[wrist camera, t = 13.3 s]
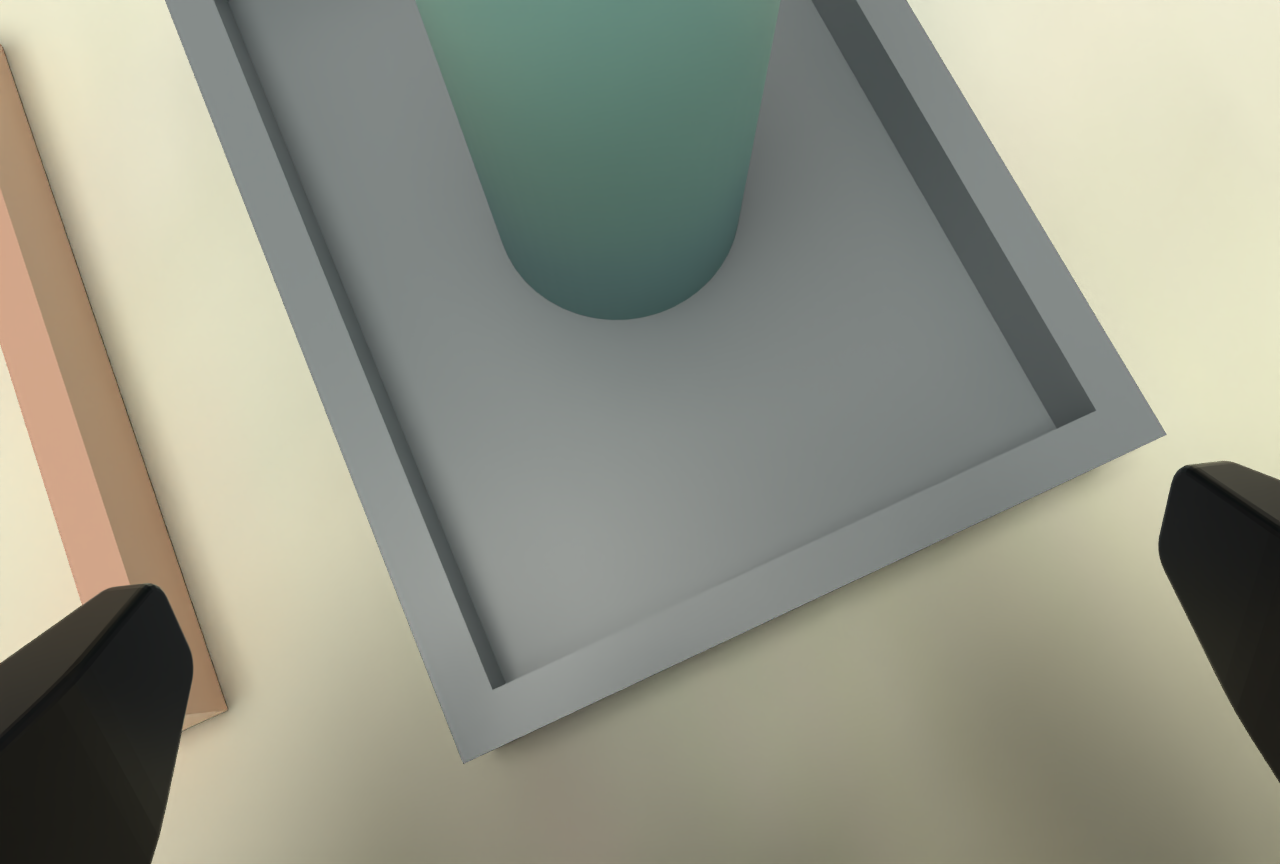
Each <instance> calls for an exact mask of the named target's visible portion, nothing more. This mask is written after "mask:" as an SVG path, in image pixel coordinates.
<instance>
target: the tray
mask: <svg viewBox="0 0 1280 864" xmlns="http://www.w3.org/2000/svg"><path fill="white" fill-rule="evenodd" d="M165 1H166V4H167V7H168V9H169V12H170V14H171V17H172V19H173V22H174V24H175V27H176V30H177V32H178V35H179V37H180V40H181V42H182V45H183V47H184V50H185V53H186V55H187V58H188V60H189V63H190V65H191V68H192V71H193V73H194V76H195V78H196V81H197V83H198V86H199V88H200V91H201V94H202V96H203V99H204V101H205V104H206V106H207V109H208V112H209V114H210V117H211V119H212V122H213V124H214V127H215V129H216V132H217V135H218V137H219V140H220V142H221V145H222V147H223V150H224V152H225V155H226V158H227V160H228V163H229V165H230V168H231V170H232V173H233V176H234V178H235V181H236V183H237V186H238V188H239V191H240V193H241V196H242V199H243V201H244V204H245V206H246V209H247V211H248V214H249V216H250V219H251V222H252V224H253V227H254V229H255V232H256V234H257V237H258V240H259V242H260V245H261V247H262V250H263V252H264V255H265V257H266V260H267V263H268V265H269V268H270V270H271V273H272V275H273V278H274V281H275V283H276V286H277V288H278V291H279V293H280V296H281V298H282V301H283V304H284V306H285V309H286V311H287V314H288V316H289V319H290V321H291V324H292V327H293V329H294V332H295V334H296V337H297V339H298V342H299V345H300V347H301V350H302V352H303V355H304V357H305V360H306V362H307V365H308V368H309V370H310V373H311V375H312V378H313V380H314V383H315V385H316V388H317V391H318V393H319V396H320V398H321V401H322V403H323V406H324V409H325V411H326V414H327V416H328V419H329V421H330V424H331V426H332V429H333V432H334V434H335V437H336V439H337V442H338V444H339V447H340V450H341V452H342V455H343V457H344V460H345V462H346V465H347V467H348V470H349V473H350V475H351V478H352V480H353V483H354V485H355V488H356V490H357V493H358V496H359V498H360V501H361V503H362V506H363V508H364V511H365V514H366V516H367V519H368V521H369V524H370V526H371V529H372V531H373V534H374V537H375V539H376V542H377V544H378V547H379V549H380V552H381V554H382V557H383V560H384V562H385V565H386V567H387V570H388V572H389V575H390V578H391V580H392V583H393V585H394V588H395V590H396V593H397V595H398V598H399V601H400V603H401V606H402V608H403V611H404V613H405V616H406V619H407V621H408V624H409V626H410V629H411V631H412V634H413V636H414V639H415V642H416V644H417V647H418V649H419V652H420V654H421V657H422V659H423V662H424V665H425V667H426V670H427V672H428V675H429V677H430V680H431V683H432V685H433V688H434V690H435V693H436V695H437V698H438V700H439V703H440V706H441V708H442V711H443V713H444V716H445V718H446V721H447V723H448V726H449V729H450V731H451V734H452V736H453V739H454V741H455V744H456V747H457V749H458V752H459V754H460V757H461V759H462V762H463V764H464V763H466V762H468V761H471V760H473V759H475V758H477V757H479V756H481V755H483V754H486V753H488V752H490V751H492V750H494V749H496V748H498V747H500V746H503V745H505V744H507V743H509V742H511V741H513V740H515V739H518V738H520V737H522V736H524V735H526V734H528V733H530V732H533V731H535V730H537V729H539V728H541V727H543V726H545V725H547V724H550V723H552V722H554V721H556V720H558V719H560V718H562V717H565V716H567V715H569V714H571V713H573V712H575V711H577V710H580V709H582V708H584V707H586V706H588V705H590V704H592V703H594V702H597V701H599V700H601V699H603V698H605V697H607V696H609V695H612V694H614V693H616V692H618V691H620V690H622V689H624V688H626V687H629V686H631V685H633V684H635V683H637V682H639V681H641V680H644V679H646V678H648V677H650V676H652V675H654V674H656V673H659V672H661V671H663V670H665V669H667V668H669V667H671V666H673V665H676V664H678V663H680V662H682V661H684V660H686V659H688V658H691V657H693V656H695V655H697V654H699V653H701V652H703V651H706V650H708V649H710V648H712V647H714V646H716V645H718V644H720V643H723V642H725V641H727V640H729V639H731V638H733V637H735V636H738V635H740V634H742V633H744V632H746V631H748V630H750V629H753V628H755V627H757V626H759V625H761V624H763V623H765V622H767V621H770V620H772V619H774V618H776V617H778V616H780V615H782V614H785V613H787V612H789V611H791V610H793V609H795V608H797V607H800V606H802V605H804V604H806V603H808V602H810V601H812V600H814V599H817V598H819V597H821V596H823V595H825V594H827V593H829V592H832V591H834V590H836V589H838V588H840V587H842V586H844V585H847V584H849V583H851V582H853V581H855V580H857V579H859V578H861V577H864V576H866V575H868V574H870V573H872V572H874V571H876V570H879V569H881V568H883V567H885V566H887V565H889V564H891V563H893V562H896V561H898V560H900V559H902V558H904V557H906V556H908V555H911V554H913V553H915V552H917V551H919V550H921V549H923V548H926V547H928V546H930V545H932V544H934V543H936V542H938V541H940V540H943V539H945V538H947V537H949V536H951V535H953V534H955V533H958V532H960V531H962V530H964V529H966V528H968V527H970V526H973V525H975V524H977V523H979V522H981V521H983V520H985V519H987V518H990V517H992V516H994V515H996V514H998V513H1000V512H1002V511H1005V510H1007V509H1009V508H1011V507H1013V506H1015V505H1017V504H1020V503H1022V502H1024V501H1026V500H1028V499H1030V498H1032V497H1034V496H1037V495H1039V494H1041V493H1043V492H1045V491H1047V490H1049V489H1052V488H1054V487H1056V486H1058V485H1060V484H1062V483H1064V482H1067V481H1069V480H1071V479H1073V478H1075V477H1077V476H1079V475H1081V474H1084V473H1086V472H1088V471H1090V470H1092V469H1094V468H1096V467H1099V466H1101V465H1103V464H1105V463H1107V462H1109V461H1111V460H1114V459H1116V458H1118V457H1120V456H1122V455H1124V454H1126V453H1128V452H1131V451H1133V450H1135V449H1137V448H1139V447H1141V446H1143V445H1146V444H1148V443H1150V442H1152V441H1154V440H1156V439H1158V438H1160V437H1163V436H1165V435H1167V434H1166V433H1165V431H1164V429H1163V428H1162V426H1161V424H1160V423H1159V421H1158V419H1157V418H1156V416H1155V414H1154V413H1153V411H1152V409H1151V408H1150V406H1149V404H1148V403H1147V401H1146V399H1145V398H1144V396H1143V394H1142V393H1141V391H1140V389H1139V388H1138V386H1137V384H1136V383H1135V381H1134V379H1133V378H1132V376H1131V374H1130V373H1129V371H1128V369H1127V368H1126V366H1125V364H1124V363H1123V361H1122V359H1121V358H1120V356H1119V354H1118V353H1117V351H1116V349H1115V348H1114V346H1113V344H1112V343H1111V341H1110V339H1109V338H1108V336H1107V334H1106V333H1105V331H1104V329H1103V328H1102V326H1101V324H1100V323H1099V321H1098V319H1097V318H1096V316H1095V314H1094V312H1093V311H1092V309H1091V307H1090V306H1089V304H1088V302H1087V301H1086V299H1085V297H1084V296H1083V294H1082V292H1081V291H1080V289H1079V287H1078V286H1077V284H1076V282H1075V281H1074V279H1073V277H1072V276H1071V274H1070V272H1069V271H1068V269H1067V267H1066V266H1065V264H1064V262H1063V261H1062V259H1061V257H1060V256H1059V254H1058V252H1057V251H1056V249H1055V247H1054V246H1053V244H1052V242H1051V241H1050V239H1049V237H1048V236H1047V234H1046V232H1045V231H1044V229H1043V227H1042V226H1041V224H1040V222H1039V221H1038V219H1037V217H1036V216H1035V214H1034V212H1033V211H1032V209H1031V207H1030V206H1029V204H1028V202H1027V201H1026V199H1025V197H1024V196H1023V194H1022V192H1021V191H1020V189H1019V187H1018V186H1017V184H1016V182H1015V181H1014V179H1013V177H1012V176H1011V174H1010V172H1009V171H1008V169H1007V167H1006V166H1005V164H1004V162H1003V161H1002V159H1001V157H1000V156H999V154H998V152H997V151H996V149H995V147H994V146H993V144H992V142H991V141H990V139H989V137H988V136H987V134H986V132H985V131H984V129H983V127H982V126H981V124H980V122H979V121H978V119H977V117H976V116H975V114H974V112H973V111H972V109H971V107H970V106H969V104H968V102H967V101H966V99H965V97H964V96H963V94H962V92H961V91H960V89H959V87H958V86H957V84H956V82H955V81H954V79H953V77H952V76H951V74H950V72H949V71H948V69H947V67H946V66H945V64H944V62H943V61H942V59H941V57H940V56H939V54H938V52H937V51H936V49H935V47H934V46H933V44H932V42H931V41H930V39H929V37H928V36H927V34H926V32H925V31H924V29H923V27H922V26H921V24H920V22H919V21H918V19H917V17H916V16H915V14H914V12H913V11H912V9H911V7H910V6H909V4H908V2H907V1H906V0H781V1H780V6H779V11H778V17H777V22H776V27H775V32H774V38H773V43H772V48H771V53H770V59H769V64H768V69H767V74H766V80H765V85H764V90H763V95H762V101H761V106H760V111H759V116H758V122H757V127H756V132H755V137H754V143H753V148H752V153H751V158H750V164H749V169H748V174H747V179H746V185H745V190H744V195H743V200H742V206H741V211H740V216H739V221H738V226H737V230H736V234H735V238H734V241H733V244H732V246H731V248H730V251H729V253H728V255H727V257H726V259H725V260H724V262H723V264H722V265H721V267H720V268H719V270H718V271H717V272H716V273H715V275H714V276H713V277H712V278H711V280H710V281H708V282H707V283H706V284H705V285H704V286H703V287H702V288H701V289H700V290H699V291H698V292H696V293H695V294H694V295H692V296H691V297H690V298H688V299H687V300H685V301H683V302H682V303H680V304H678V305H676V306H674V307H672V308H670V309H667V310H665V311H663V312H660V313H657V314H654V315H650V316H646V317H642V318H635V319H627V320H607V319H598V318H592V317H588V316H583V315H579V314H576V313H574V312H571V311H568V310H566V309H563V308H561V307H559V306H557V305H556V304H554V303H552V302H550V301H548V300H547V299H546V298H544V297H543V296H541V295H540V294H539V293H537V292H536V291H535V290H534V289H533V288H532V287H531V286H530V285H529V284H528V283H526V282H525V280H524V279H523V278H522V277H521V275H520V274H519V273H518V272H517V271H516V269H515V268H514V266H513V264H512V263H511V261H510V259H509V258H508V256H507V253H506V251H505V248H504V246H503V244H502V241H501V238H500V235H499V233H498V230H497V227H496V224H495V222H494V219H493V216H492V213H491V210H490V208H489V205H488V202H487V199H486V196H485V194H484V191H483V188H482V185H481V183H480V180H479V177H478V174H477V171H476V169H475V166H474V163H473V160H472V157H471V155H470V152H469V149H468V146H467V144H466V141H465V138H464V135H463V132H462V130H461V127H460V124H459V121H458V118H457V116H456V113H455V110H454V107H453V105H452V102H451V99H450V96H449V93H448V91H447V88H446V85H445V82H444V79H443V77H442V74H441V71H440V68H439V66H438V63H437V60H436V57H435V54H434V52H433V49H432V46H431V43H430V40H429V38H428V35H427V32H426V29H425V27H424V24H423V21H422V18H421V15H420V13H419V10H418V7H417V4H416V1H415V0H165Z"/></svg>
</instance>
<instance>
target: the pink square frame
mask: <svg viewBox="0 0 1280 864" xmlns="http://www.w3.org/2000/svg"><path fill="white" fill-rule="evenodd" d="M0 345H1V348H2V351H3V354H4V357H5V361H6V364H7V367H8V370H9V373H10V377H11V380H12V383H13V386H14V389H15V392H16V396H17V399H18V402H19V405H20V408H21V412H22V415H23V418H24V421H25V424H26V428H27V431H28V434H29V437H30V440H31V443H32V447H33V450H34V453H35V456H36V459H37V463H38V466H39V469H40V472H41V475H42V479H43V482H44V485H45V488H46V491H47V494H48V498H49V501H50V504H51V507H52V510H53V514H54V517H55V520H56V523H57V526H58V530H59V533H60V536H61V539H62V542H63V545H64V549H65V552H66V555H67V558H68V561H69V565H70V568H71V571H72V574H73V577H74V581H75V584H76V587H77V590H78V593H79V596H80V600H81V603H82V605H83V604H85V603H86V602H87V601H89V600H90V599H92V598H93V597H94V596H96V595H97V594H99V593H100V592H102V591H103V590H105V589H108V588H111V587H116V586H125V585H134V584H143V583H152V584H155V585H157V586H159V587H160V588H161V589H162V590H163V591H164V593H165V594H166V596H167V598H168V600H169V602H170V605H171V607H172V609H173V611H174V613H175V616H176V618H177V620H178V622H179V625H180V627H181V629H182V631H183V634H184V636H185V638H186V640H187V642H188V645H189V647H190V650H191V653H192V657H193V666H194V670H193V680H192V685H191V690H190V695H189V700H188V704H187V709H186V714H185V719H184V724H183V728H182V731H183V730H185V729H188V728H190V727H192V726H194V725H196V724H199V723H201V722H203V721H205V720H207V719H210V718H212V717H214V716H216V715H218V714H221V713H223V712H225V711H227V710H228V709H227V706H226V703H225V700H224V697H223V694H222V691H221V688H220V685H219V682H218V679H217V676H216V674H215V671H214V668H213V665H212V662H211V659H210V656H209V653H208V650H207V647H206V644H205V641H204V638H203V635H202V632H201V629H200V627H199V624H198V621H197V618H196V615H195V612H194V609H193V606H192V603H191V600H190V597H189V594H188V591H187V588H186V585H185V582H184V579H183V577H182V574H181V571H180V568H179V565H178V562H177V559H176V556H175V553H174V550H173V547H172V544H171V541H170V538H169V535H168V532H167V530H166V527H165V524H164V521H163V518H162V515H161V512H160V509H159V506H158V503H157V500H156V497H155V494H154V491H153V488H152V485H151V482H150V480H149V477H148V474H147V471H146V468H145V465H144V462H143V459H142V456H141V453H140V450H139V447H138V444H137V441H136V438H135V435H134V433H133V430H132V427H131V424H130V421H129V418H128V415H127V412H126V409H125V406H124V403H123V400H122V397H121V394H120V391H119V388H118V385H117V383H116V380H115V377H114V374H113V371H112V368H111V365H110V362H109V359H108V356H107V353H106V350H105V347H104V344H103V341H102V338H101V336H100V333H99V330H98V327H97V324H96V321H95V318H94V315H93V312H92V309H91V306H90V303H89V300H88V297H87V294H86V291H85V288H84V286H83V283H82V280H81V277H80V274H79V271H78V268H77V265H76V262H75V259H74V256H73V253H72V250H71V247H70V244H69V241H68V239H67V236H66V233H65V230H64V227H63V224H62V221H61V218H60V215H59V212H58V209H57V206H56V203H55V200H54V197H53V194H52V191H51V189H50V186H49V183H48V180H47V177H46V174H45V171H44V168H43V165H42V162H41V159H40V156H39V153H38V150H37V147H36V144H35V142H34V139H33V136H32V133H31V130H30V127H29V124H28V121H27V118H26V115H25V112H24V109H23V106H22V103H21V100H20V97H19V94H18V92H17V89H16V86H15V83H14V80H13V77H12V74H11V71H10V68H9V65H8V62H7V59H6V56H5V53H4V50H3V47H2V45H1V44H0Z"/></svg>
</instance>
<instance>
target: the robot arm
mask: <svg viewBox="0 0 1280 864" xmlns="http://www.w3.org/2000/svg"><path fill="white" fill-rule="evenodd" d="M1159 556H1160V560H1161V563H1162V566H1163V569H1164V571H1165V573H1166V575H1167V577H1168V579H1169V581H1170V583H1171V585H1172V587H1173V589H1174V591H1175V593H1176V595H1177V597H1178V599H1179V601H1180V603H1181V605H1182V607H1183V609H1184V611H1185V613H1186V615H1187V617H1188V619H1189V621H1190V623H1191V625H1192V627H1193V629H1194V631H1195V633H1196V635H1197V637H1198V639H1199V641H1200V644H1201V646H1202V648H1203V650H1204V652H1205V654H1206V656H1207V658H1208V660H1209V662H1210V664H1211V666H1212V668H1213V670H1214V672H1215V674H1216V676H1217V678H1218V680H1219V682H1220V684H1221V686H1222V688H1223V690H1224V692H1225V694H1226V695H1227V697H1228V699H1229V701H1230V703H1231V705H1232V707H1233V708H1234V710H1235V712H1236V714H1237V715H1238V717H1239V719H1240V720H1241V722H1242V724H1243V725H1244V727H1245V729H1246V730H1247V732H1248V734H1249V735H1250V737H1251V739H1252V740H1253V742H1254V743H1255V745H1256V746H1257V748H1258V750H1259V751H1260V753H1261V754H1262V756H1263V757H1264V759H1265V761H1266V762H1267V764H1268V765H1269V767H1270V768H1271V770H1272V771H1273V773H1274V775H1275V776H1276V778H1277V779H1278V781H1279V782H1280V480H1278V479H1276V478H1273V477H1271V476H1268V475H1265V474H1263V473H1260V472H1258V471H1255V470H1252V469H1250V468H1247V467H1245V466H1242V465H1239V464H1237V463H1234V462H1229V461H1218V462H1209V463H1201V464H1192V465H1186V466H1184V467H1182V468H1180V469H1179V470H1178V471H1177V472H1176V474H1175V475H1174V477H1173V480H1172V483H1171V488H1170V492H1169V496H1168V501H1167V505H1166V509H1165V514H1164V518H1163V522H1162V527H1161V531H1160V535H1159ZM193 670H194V666H193V657H192V653H191V650H190V647H189V645H188V642H187V640H186V638H185V636H184V634H183V631H182V629H181V627H180V625H179V622H178V620H177V618H176V616H175V613H174V611H173V609H172V607H171V605H170V602H169V600H168V598H167V596H166V594H165V593H164V591H163V590H162V589H161V588H160V587H159V586H157V585H155V584H152V583H143V584H134V585H125V586H116V587H111V588H108V589H105V590H103V591H102V592H100V593H99V594H97V595H96V596H94V597H93V598H92V599H90V600H89V601H87V602H86V603H85V604H83V605H82V606H80V607H79V608H78V609H76V610H75V611H73V612H72V613H70V614H69V615H68V616H66V617H65V618H63V619H62V620H61V621H59V622H58V623H56V624H55V625H54V626H52V627H51V628H49V629H48V630H46V631H45V632H44V633H42V634H41V635H39V636H38V637H37V638H35V639H34V640H32V641H31V642H30V643H28V644H27V645H25V646H24V647H22V648H21V649H20V650H18V651H17V652H15V653H14V654H13V655H11V656H10V657H8V658H7V659H6V660H4V661H3V662H1V663H0V864H151V862H152V859H153V855H154V852H155V849H156V845H157V842H158V839H159V835H160V831H161V827H162V823H163V818H164V814H165V810H166V805H167V801H168V796H169V791H170V786H171V781H172V777H173V772H174V767H175V762H176V757H177V753H178V748H179V743H180V738H181V733H182V728H183V724H184V719H185V714H186V709H187V704H188V700H189V695H190V690H191V685H192V680H193Z"/></svg>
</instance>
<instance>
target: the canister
mask: <svg viewBox="0 0 1280 864" xmlns="http://www.w3.org/2000/svg"><path fill="white" fill-rule="evenodd" d="M415 1H416V4H417V7H418V10H419V13H420V15H421V18H422V21H423V24H424V27H425V29H426V32H427V35H428V38H429V40H430V43H431V46H432V49H433V52H434V54H435V57H436V60H437V63H438V66H439V68H440V71H441V74H442V77H443V79H444V82H445V85H446V88H447V91H448V93H449V96H450V99H451V102H452V105H453V107H454V110H455V113H456V116H457V118H458V121H459V124H460V127H461V130H462V132H463V135H464V138H465V141H466V144H467V146H468V149H469V152H470V155H471V157H472V160H473V163H474V166H475V169H476V171H477V174H478V177H479V180H480V183H481V185H482V188H483V191H484V194H485V196H486V199H487V202H488V205H489V208H490V210H491V213H492V216H493V219H494V222H495V224H496V227H497V230H498V233H499V235H500V238H501V241H502V244H503V246H504V248H505V251H506V253H507V256H508V258H509V259H510V261H511V263H512V264H513V266H514V268H515V269H516V271H517V272H518V273H519V274H520V275H521V277H522V278H523V279H524V280H525V282H526V283H528V284H529V285H530V286H531V287H532V288H533V289H534V290H535V291H536V292H537V293H539V294H540V295H541V296H543V297H544V298H546V299H547V300H548V301H550V302H552V303H554V304H556V305H557V306H559V307H561V308H563V309H566V310H568V311H571V312H574V313H576V314H579V315H583V316H588V317H592V318H598V319H607V320H627V319H635V318H642V317H646V316H650V315H654V314H657V313H660V312H663V311H665V310H667V309H670V308H672V307H674V306H676V305H678V304H680V303H682V302H683V301H685V300H687V299H688V298H690V297H691V296H692V295H694V294H695V293H696V292H698V291H699V290H700V289H701V288H702V287H703V286H704V285H705V284H706V283H707V282H708V281H710V280H711V278H712V277H713V276H714V275H715V273H716V272H717V271H718V270H719V268H720V267H721V265H722V264H723V262H724V260H725V259H726V257H727V255H728V253H729V251H730V248H731V246H732V244H733V241H734V238H735V234H736V230H737V226H738V221H739V216H740V211H741V206H742V200H743V195H744V190H745V185H746V179H747V174H748V169H749V164H750V158H751V153H752V148H753V143H754V137H755V132H756V127H757V122H758V116H759V111H760V106H761V101H762V95H763V90H764V85H765V80H766V74H767V69H768V64H769V59H770V53H771V48H772V43H773V38H774V32H775V27H776V22H777V17H778V11H779V6H780V1H781V0H415Z"/></svg>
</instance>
